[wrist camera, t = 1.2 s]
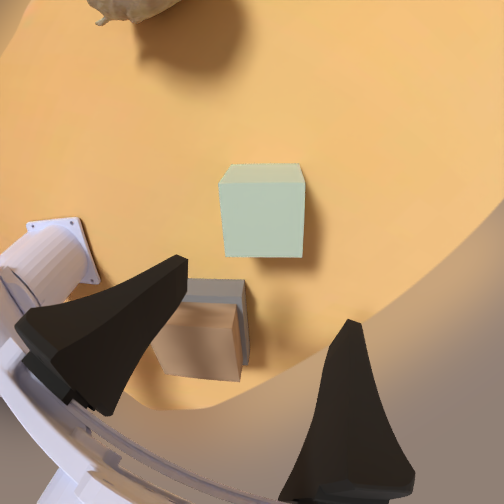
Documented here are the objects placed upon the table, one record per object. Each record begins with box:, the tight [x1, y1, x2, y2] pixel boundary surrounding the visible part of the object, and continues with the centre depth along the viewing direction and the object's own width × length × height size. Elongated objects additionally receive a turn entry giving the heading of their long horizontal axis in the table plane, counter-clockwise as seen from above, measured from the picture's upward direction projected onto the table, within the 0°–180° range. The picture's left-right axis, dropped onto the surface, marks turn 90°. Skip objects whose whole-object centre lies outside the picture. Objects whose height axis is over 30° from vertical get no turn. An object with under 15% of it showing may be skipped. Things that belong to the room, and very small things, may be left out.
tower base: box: [182, 278, 250, 365], centre depth 28 cm, size 10×10×3 cm
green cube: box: [218, 163, 305, 258], centre depth 19 cm, size 5×5×5 cm
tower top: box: [150, 302, 243, 382], centre depth 25 cm, size 8×8×3 cm
